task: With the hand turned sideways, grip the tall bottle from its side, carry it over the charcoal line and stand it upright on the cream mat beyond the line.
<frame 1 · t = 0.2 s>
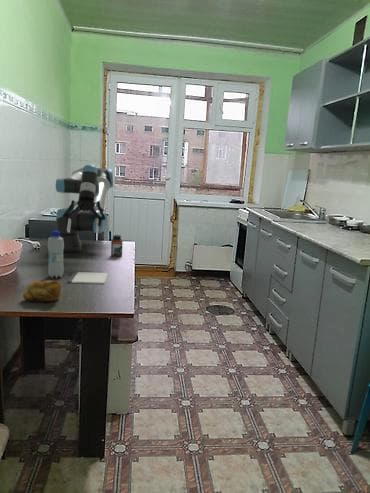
hand: (82, 231, 186), 16 cm above the table, tool tilted 35°, fingers open, 13 cm apart
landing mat: (88, 278, 167), on the table
supplement bottle: (116, 256, 209), on the table
bread roll: (42, 299, 139), on the table
bottle: (56, 277, 166), on the table
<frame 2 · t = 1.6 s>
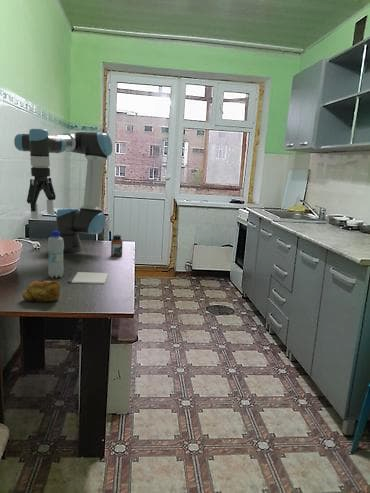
hand: (43, 216, 169), 24 cm above the table, tool pointing down, fingers open, 13 cm apart
nothing on the table moved.
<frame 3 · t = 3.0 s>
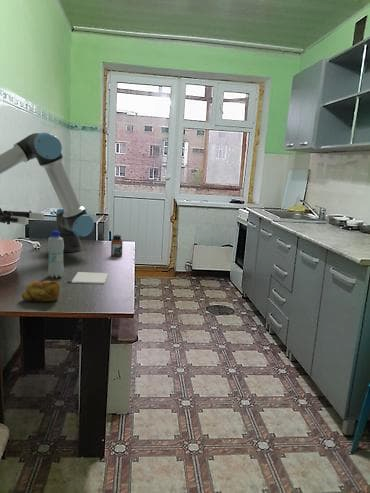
hand: (35, 218, 163), 24 cm above the table, tool horizontal, fingers open, 13 cm apart
nothing on the table moved.
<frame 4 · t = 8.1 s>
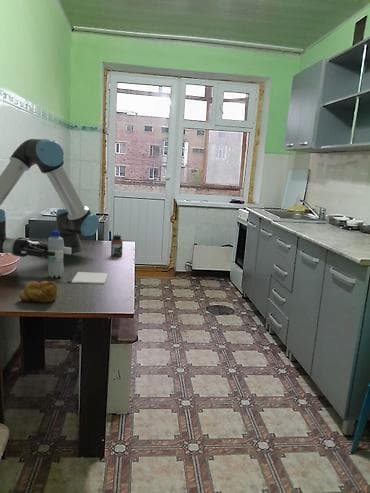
hand: (66, 252, 163), 11 cm above the table, tool horizontal, fingers closed on bottle, 6 cm apart
bottle: (56, 277, 166), on the table, touching gripper
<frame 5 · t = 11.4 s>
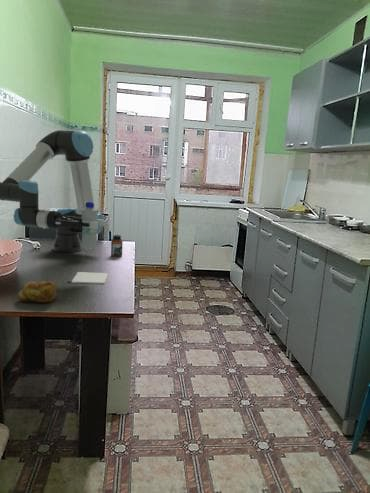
hand: (101, 224, 161), 24 cm above the table, tool horizontal, fingers closed on bottle, 6 cm apart
bottle: (89, 249, 165), point 13 cm above the table, touching gripper
when the fingers open (13 cm above the table, at t = 14.5 s): bottle drops 1 cm, resting on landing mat.
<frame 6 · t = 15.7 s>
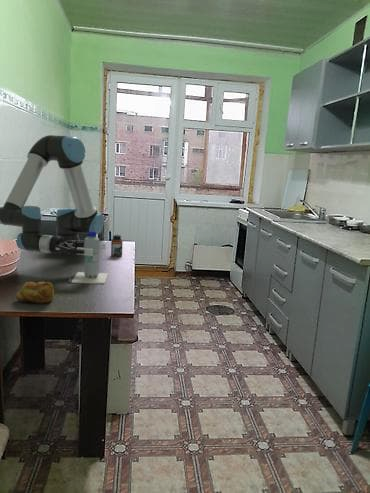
hand: (99, 249, 164), 13 cm above the table, tool horizontal, fingers open, 13 cm apart
bottle: (91, 276, 168), resting on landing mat
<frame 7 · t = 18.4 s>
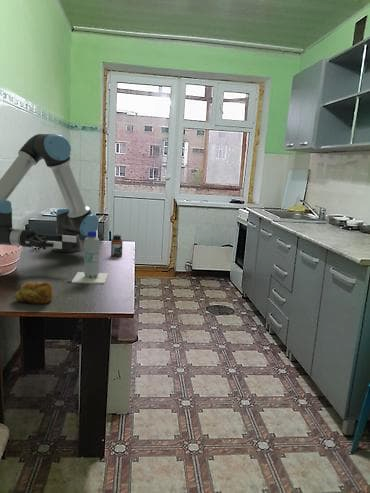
hand: (69, 242, 166), 15 cm above the table, tool horizontal, fingers open, 13 cm apart
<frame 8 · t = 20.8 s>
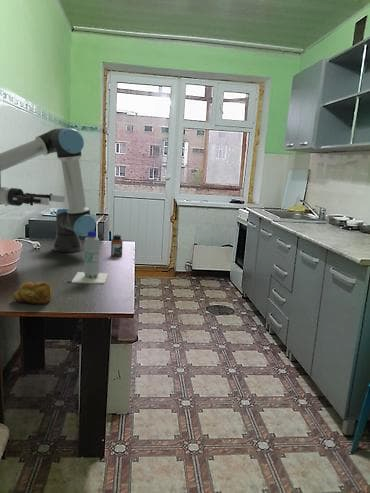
hand: (57, 200, 166), 32 cm above the table, tool horizontal, fingers open, 13 cm apart
at the end: bottle inside the target area (1.8 cm from its centre), resting on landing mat; bottle tilted 0°; the gripper is holding nothing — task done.
